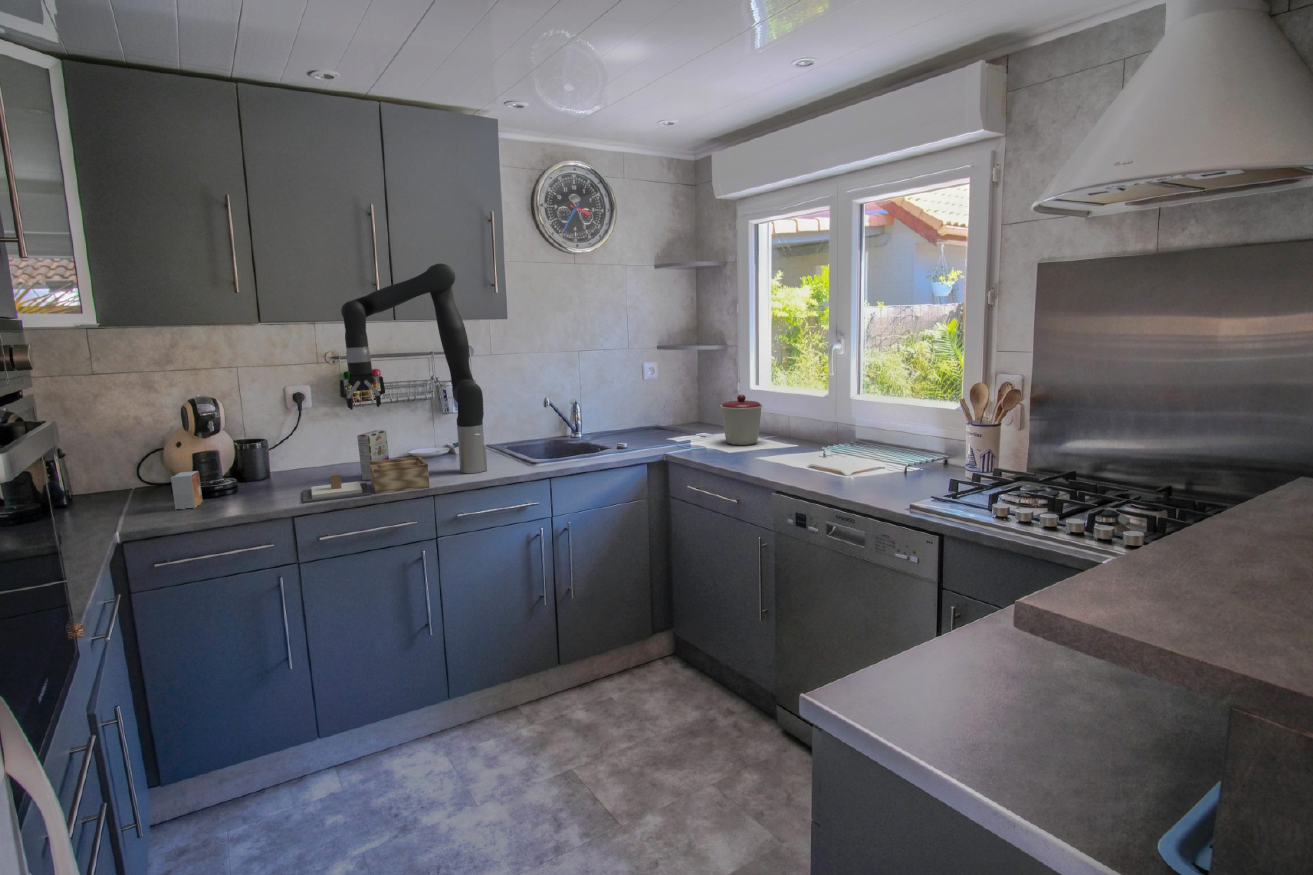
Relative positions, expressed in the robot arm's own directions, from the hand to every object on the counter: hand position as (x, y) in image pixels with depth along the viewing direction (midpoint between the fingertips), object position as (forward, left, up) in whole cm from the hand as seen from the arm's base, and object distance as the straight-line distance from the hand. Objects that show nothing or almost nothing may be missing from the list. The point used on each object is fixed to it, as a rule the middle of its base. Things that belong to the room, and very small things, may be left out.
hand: (364, 408), depth 250 cm
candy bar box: (-2, -10, -27) cm, 28 cm away
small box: (+54, +4, -27) cm, 60 cm away
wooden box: (-8, +10, -26) cm, 29 cm away
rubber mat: (+12, +10, -26) cm, 31 cm away
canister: (-148, +5, -27) cm, 151 cm away
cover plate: (+12, +10, -26) cm, 30 cm away
